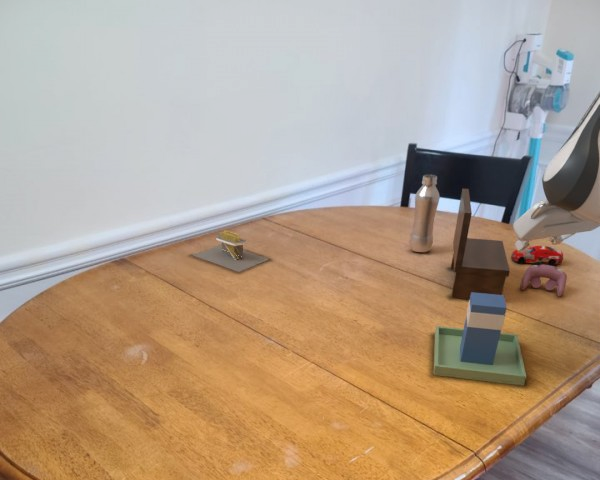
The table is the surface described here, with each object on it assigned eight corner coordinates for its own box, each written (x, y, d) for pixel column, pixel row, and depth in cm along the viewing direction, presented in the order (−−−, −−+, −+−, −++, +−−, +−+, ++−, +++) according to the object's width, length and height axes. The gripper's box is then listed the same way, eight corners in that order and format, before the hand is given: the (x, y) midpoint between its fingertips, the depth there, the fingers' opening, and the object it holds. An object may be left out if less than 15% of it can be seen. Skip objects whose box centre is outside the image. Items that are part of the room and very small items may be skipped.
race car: (511, 263, 151) (514, 249, 149) (508, 256, 156) (512, 242, 153) (563, 267, 149) (567, 252, 147) (558, 259, 154) (562, 245, 151)
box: (491, 351, 112) (504, 295, 105) (493, 365, 107) (507, 308, 100) (459, 347, 113) (470, 291, 106) (460, 361, 108) (471, 304, 101)
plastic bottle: (402, 250, 158) (412, 175, 147) (418, 245, 162) (428, 172, 150) (420, 256, 154) (431, 180, 143) (436, 251, 158) (448, 176, 146)
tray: (515, 343, 116) (517, 334, 114) (523, 385, 103) (526, 376, 101) (434, 334, 118) (436, 325, 117) (433, 375, 105) (435, 365, 104)
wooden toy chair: (495, 270, 147) (513, 191, 135) (502, 303, 131) (522, 216, 119) (448, 266, 149) (462, 188, 137) (449, 298, 133) (464, 212, 121)
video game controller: (561, 298, 137) (569, 269, 136) (562, 297, 133) (571, 267, 132) (519, 290, 140) (526, 262, 139) (519, 289, 136) (526, 260, 135)
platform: (238, 272, 144) (237, 247, 140) (191, 255, 154) (189, 231, 150) (270, 259, 152) (269, 235, 148) (223, 243, 161) (221, 220, 157)
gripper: (554, 215, 95) (504, 264, 107) (634, 205, 103) (579, 251, 115) (536, 186, 96) (489, 237, 109) (617, 177, 104) (565, 226, 117)
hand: (536, 244), depth 112 cm, fingers open, 8 cm apart
